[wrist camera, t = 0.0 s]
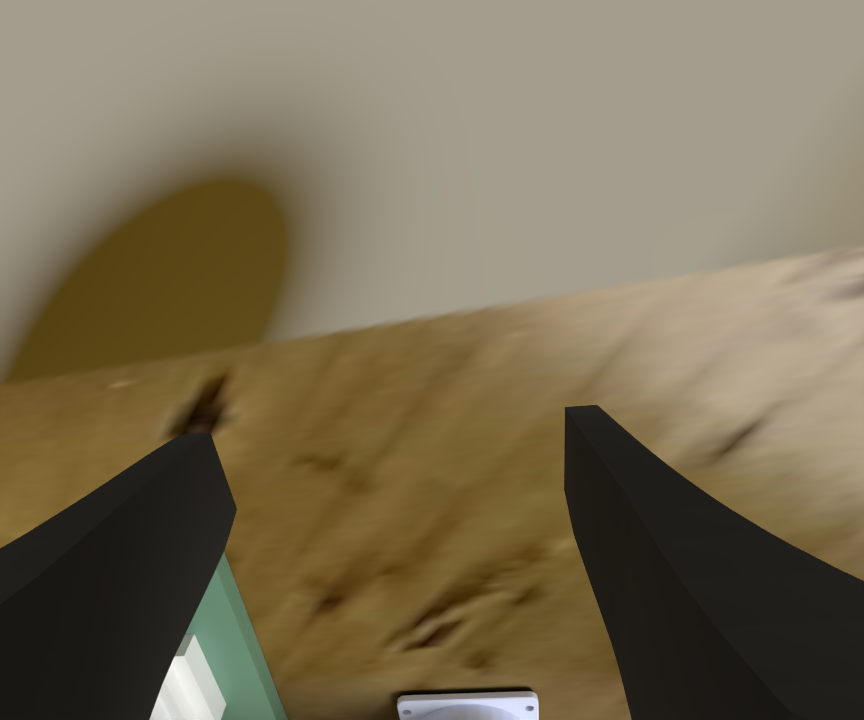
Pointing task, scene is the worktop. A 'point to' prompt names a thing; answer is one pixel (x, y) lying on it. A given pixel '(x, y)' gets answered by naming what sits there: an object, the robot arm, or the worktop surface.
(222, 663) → the heatsink base
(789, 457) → the worktop surface
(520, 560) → the worktop surface
